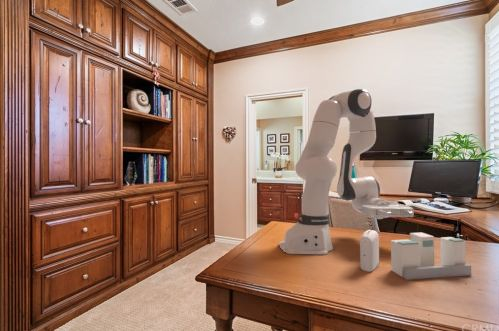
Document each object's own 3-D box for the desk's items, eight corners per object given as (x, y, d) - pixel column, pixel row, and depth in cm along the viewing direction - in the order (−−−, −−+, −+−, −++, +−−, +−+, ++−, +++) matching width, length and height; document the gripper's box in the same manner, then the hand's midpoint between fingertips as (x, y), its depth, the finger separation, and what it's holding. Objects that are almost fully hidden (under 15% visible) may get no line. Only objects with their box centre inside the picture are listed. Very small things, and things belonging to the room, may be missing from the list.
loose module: (422, 270, 81) (421, 237, 81) (410, 264, 86) (409, 233, 86) (434, 269, 81) (434, 236, 81) (422, 263, 87) (421, 232, 86)
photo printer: (372, 273, 80) (372, 235, 80) (358, 269, 82) (358, 233, 82) (380, 263, 87) (380, 228, 87) (367, 260, 90) (367, 226, 90)
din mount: (406, 279, 75) (405, 245, 75) (391, 270, 82) (390, 239, 81) (471, 275, 77) (470, 241, 77) (451, 266, 84) (451, 235, 84)
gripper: (355, 200, 107) (375, 206, 93) (399, 201, 109) (424, 206, 95) (355, 215, 107) (374, 222, 93) (398, 215, 109) (424, 223, 95)
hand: (400, 214), depth 94 cm, fingers open, 8 cm apart
